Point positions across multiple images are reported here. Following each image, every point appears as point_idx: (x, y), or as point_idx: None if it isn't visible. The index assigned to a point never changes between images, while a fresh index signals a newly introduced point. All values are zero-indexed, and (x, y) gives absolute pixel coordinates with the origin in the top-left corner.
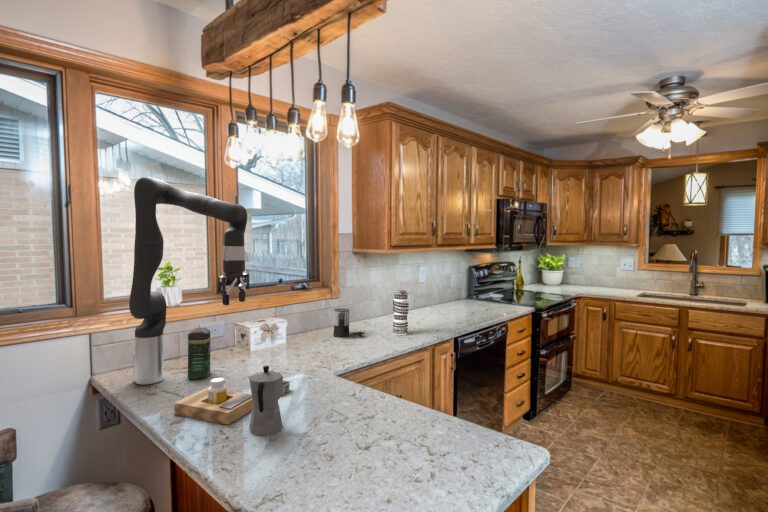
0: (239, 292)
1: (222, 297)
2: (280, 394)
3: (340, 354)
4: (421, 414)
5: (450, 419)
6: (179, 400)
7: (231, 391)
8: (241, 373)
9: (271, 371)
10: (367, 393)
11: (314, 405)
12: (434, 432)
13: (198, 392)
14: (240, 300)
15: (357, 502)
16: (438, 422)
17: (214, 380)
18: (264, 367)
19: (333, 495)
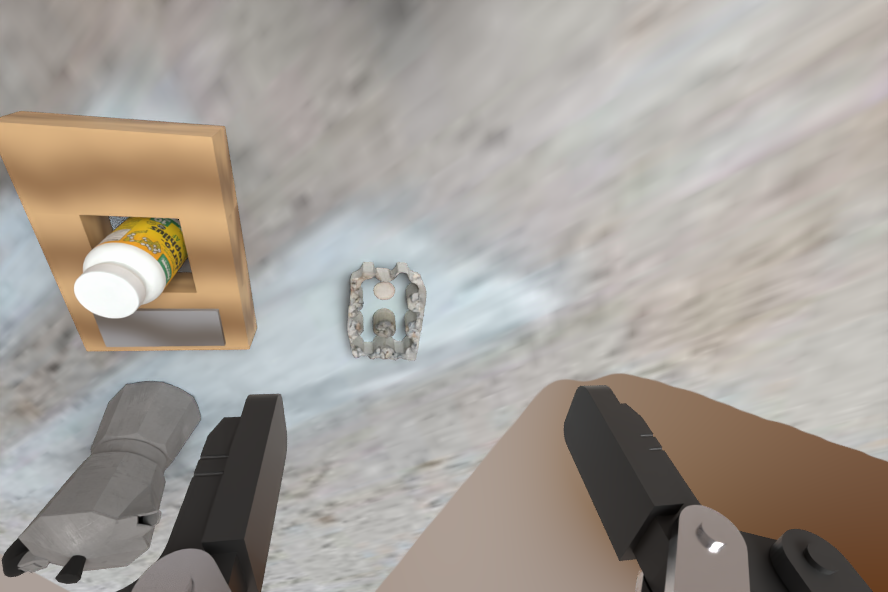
0: (640, 501)
1: (180, 510)
2: (360, 338)
3: (776, 319)
4: (374, 561)
5: (372, 586)
6: (19, 123)
7: (230, 255)
8: (531, 74)
9: (129, 538)
10: (444, 480)
11: (332, 429)
12: (315, 585)
13: (139, 139)
14: (579, 408)
15: (66, 585)
16: (353, 580)
17: (91, 291)
18: (57, 579)
19: (55, 566)
